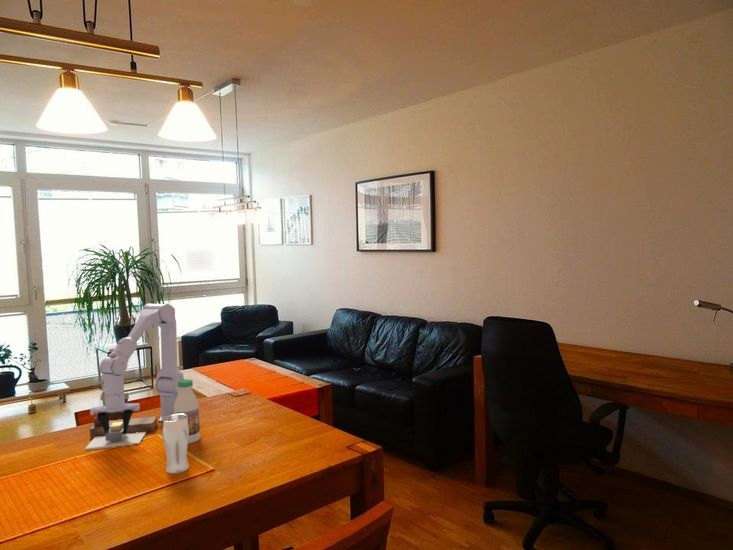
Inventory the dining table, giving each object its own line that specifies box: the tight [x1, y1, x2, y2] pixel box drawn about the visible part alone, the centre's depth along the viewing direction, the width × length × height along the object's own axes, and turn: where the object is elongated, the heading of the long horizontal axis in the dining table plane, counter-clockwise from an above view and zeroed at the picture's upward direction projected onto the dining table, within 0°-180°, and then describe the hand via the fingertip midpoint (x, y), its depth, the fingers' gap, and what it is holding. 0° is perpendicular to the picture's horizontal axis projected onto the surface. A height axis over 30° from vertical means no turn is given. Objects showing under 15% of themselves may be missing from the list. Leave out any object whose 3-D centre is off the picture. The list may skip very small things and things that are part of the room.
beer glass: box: [162, 414, 190, 475], centre depth 138 cm, size 7×7×15 cm
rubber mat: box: [84, 432, 147, 451], centre depth 161 cm, size 16×10×1 cm, turn 103°
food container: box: [99, 391, 130, 420], centre depth 183 cm, size 12×6×10 cm, turn 62°
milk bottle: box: [174, 378, 201, 445], centre depth 160 cm, size 8×8×20 cm
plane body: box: [89, 415, 158, 438], centre depth 170 cm, size 20×7×6 cm, turn 103°
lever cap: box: [105, 422, 127, 441], centre depth 161 cm, size 5×7×4 cm
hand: (116, 433), depth 161 cm, fingers closed on lever cap, 5 cm apart
